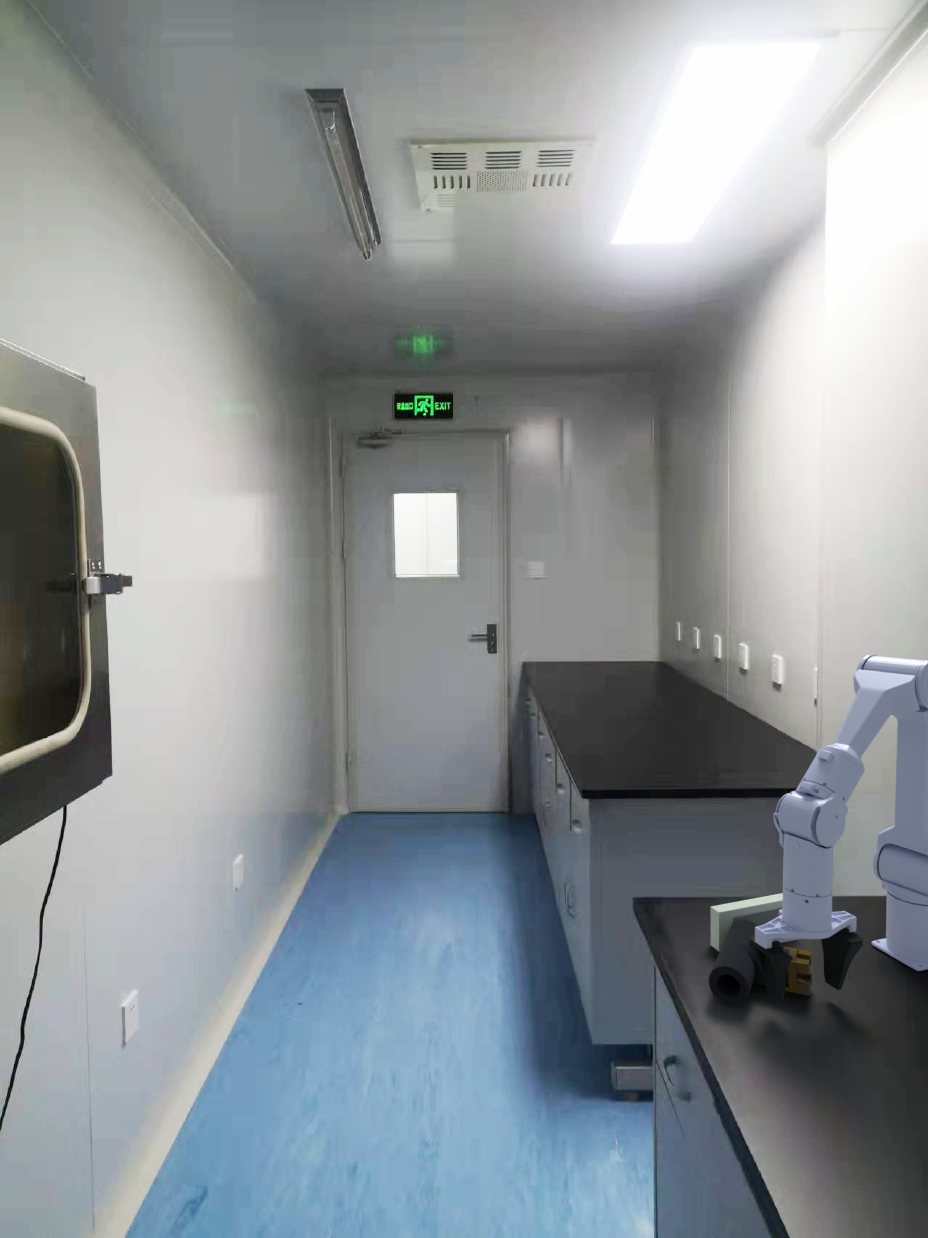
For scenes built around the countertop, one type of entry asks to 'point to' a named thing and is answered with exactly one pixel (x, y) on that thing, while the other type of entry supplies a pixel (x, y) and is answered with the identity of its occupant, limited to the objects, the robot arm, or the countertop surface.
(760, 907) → the block
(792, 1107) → the countertop surface
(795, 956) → the pipe connector
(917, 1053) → the countertop surface
